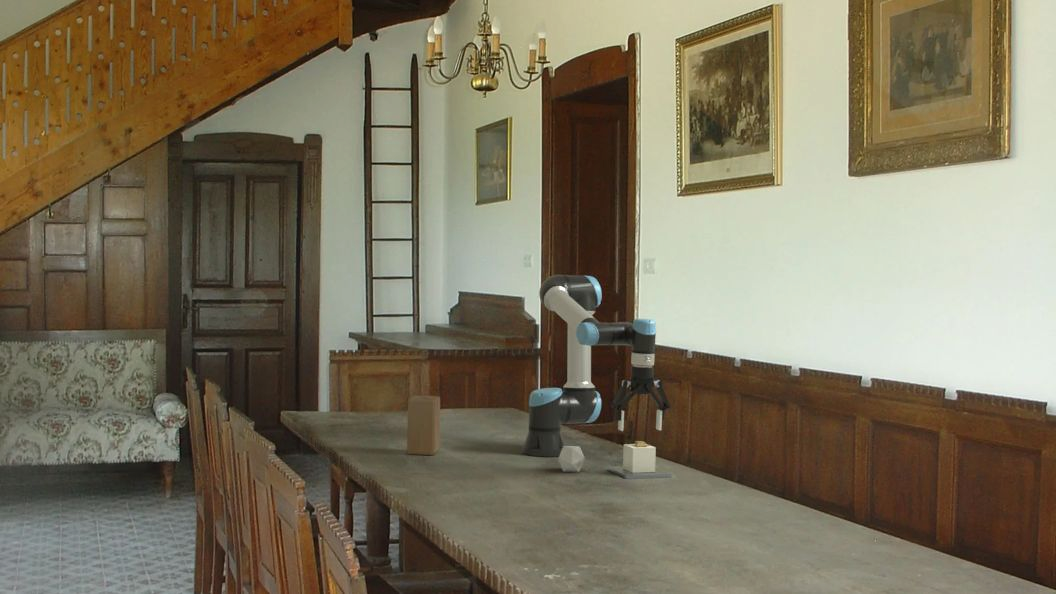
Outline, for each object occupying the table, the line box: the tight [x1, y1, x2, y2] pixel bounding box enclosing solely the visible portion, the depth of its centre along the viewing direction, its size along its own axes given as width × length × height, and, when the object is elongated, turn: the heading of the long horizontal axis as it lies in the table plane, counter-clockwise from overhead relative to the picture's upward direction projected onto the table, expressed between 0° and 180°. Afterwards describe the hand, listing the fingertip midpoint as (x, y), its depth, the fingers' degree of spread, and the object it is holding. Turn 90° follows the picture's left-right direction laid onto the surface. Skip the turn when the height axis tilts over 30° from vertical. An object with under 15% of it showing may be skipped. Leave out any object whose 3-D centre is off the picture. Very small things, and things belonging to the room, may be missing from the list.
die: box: [557, 445, 585, 473], centre depth 364 cm, size 8×9×10 cm
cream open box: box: [622, 443, 657, 473], centre depth 363 cm, size 8×8×8 cm
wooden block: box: [406, 394, 441, 456], centre depth 390 cm, size 10×10×20 cm
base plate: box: [607, 440, 673, 480], centre depth 363 cm, size 16×16×10 cm
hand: (639, 430), depth 363 cm, fingers open, 13 cm apart
